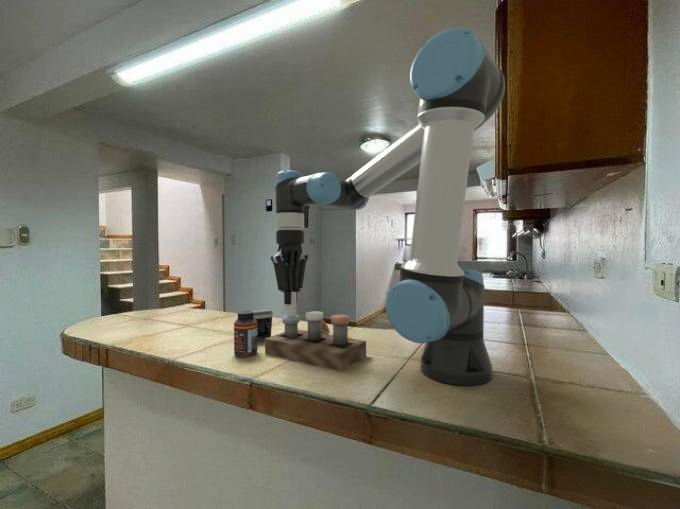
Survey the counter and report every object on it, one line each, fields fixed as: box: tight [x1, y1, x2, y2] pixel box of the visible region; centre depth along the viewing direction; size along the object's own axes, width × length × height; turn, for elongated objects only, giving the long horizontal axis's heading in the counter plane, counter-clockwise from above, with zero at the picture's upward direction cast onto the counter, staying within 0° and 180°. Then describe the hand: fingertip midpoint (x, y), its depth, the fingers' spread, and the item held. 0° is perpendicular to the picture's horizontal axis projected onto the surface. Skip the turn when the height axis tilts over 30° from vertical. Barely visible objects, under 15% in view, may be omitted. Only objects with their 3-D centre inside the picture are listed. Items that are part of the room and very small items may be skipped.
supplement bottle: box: [233, 310, 258, 358], centre depth 86 cm, size 6×6×11 cm
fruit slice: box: [321, 318, 331, 335], centre depth 102 cm, size 8×7×5 cm
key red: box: [330, 314, 351, 345], centre depth 81 cm, size 5×5×6 cm
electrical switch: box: [252, 309, 274, 342], centre depth 99 cm, size 9×5×9 cm, turn 117°
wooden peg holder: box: [264, 329, 367, 372], centre depth 86 cm, size 24×12×4 cm, turn 58°
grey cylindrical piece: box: [282, 314, 301, 339], centre depth 90 cm, size 5×5×6 cm
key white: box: [305, 310, 324, 340], centre depth 85 cm, size 5×5×6 cm
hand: (290, 315), depth 90 cm, fingers closed
